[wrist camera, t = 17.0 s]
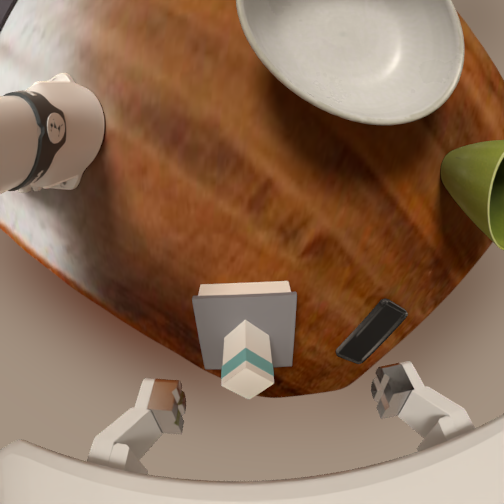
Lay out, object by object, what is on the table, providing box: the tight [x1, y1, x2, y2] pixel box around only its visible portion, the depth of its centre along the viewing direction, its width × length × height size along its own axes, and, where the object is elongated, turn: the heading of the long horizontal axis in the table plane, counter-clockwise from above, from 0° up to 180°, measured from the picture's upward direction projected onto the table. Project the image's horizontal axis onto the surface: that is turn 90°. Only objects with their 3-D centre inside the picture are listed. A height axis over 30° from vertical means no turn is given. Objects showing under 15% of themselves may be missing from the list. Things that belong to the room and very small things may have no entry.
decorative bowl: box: [236, 0, 464, 125], centre depth 26 cm, size 27×27×12 cm
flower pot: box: [441, 140, 504, 250], centre depth 32 cm, size 15×15×16 cm
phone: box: [336, 299, 407, 364], centre depth 53 cm, size 8×1×15 cm
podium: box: [192, 281, 297, 369], centre depth 48 cm, size 15×15×5 cm
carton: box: [221, 320, 274, 399], centre depth 41 cm, size 5×5×10 cm
